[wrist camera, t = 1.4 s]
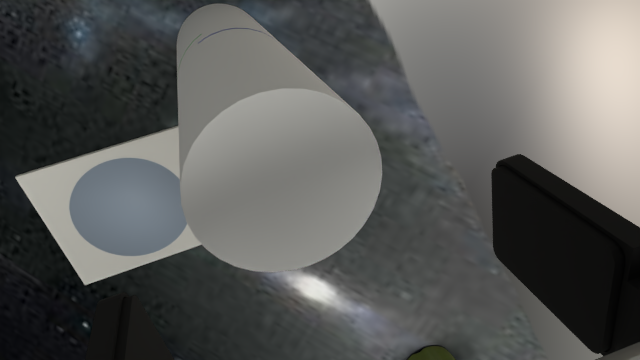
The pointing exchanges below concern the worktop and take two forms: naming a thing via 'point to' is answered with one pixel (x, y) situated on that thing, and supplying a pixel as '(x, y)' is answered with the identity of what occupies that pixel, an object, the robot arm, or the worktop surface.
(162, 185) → the white flat plate
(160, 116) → the worktop surface
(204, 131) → the cylindrical container
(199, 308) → the worktop surface
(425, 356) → the plant pot
